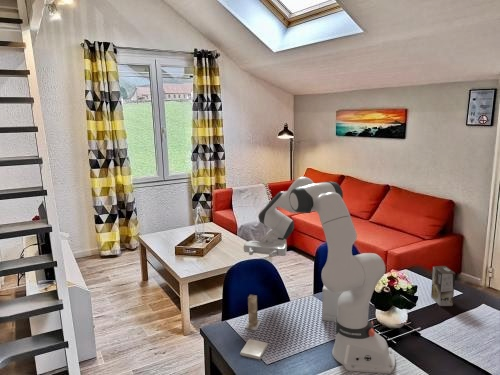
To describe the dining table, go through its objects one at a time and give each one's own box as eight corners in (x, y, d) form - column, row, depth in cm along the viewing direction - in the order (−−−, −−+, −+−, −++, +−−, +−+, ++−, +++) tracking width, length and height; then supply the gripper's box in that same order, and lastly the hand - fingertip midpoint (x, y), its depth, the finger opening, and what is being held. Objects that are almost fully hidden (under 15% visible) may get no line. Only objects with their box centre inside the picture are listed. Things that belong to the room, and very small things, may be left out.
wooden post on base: (261, 322, 166) (260, 293, 164) (256, 330, 160) (255, 301, 157) (250, 320, 168) (249, 292, 165) (245, 328, 162) (244, 299, 159)
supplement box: (342, 323, 163) (343, 291, 160) (321, 320, 166) (322, 289, 163) (344, 312, 172) (345, 282, 169) (324, 310, 175) (324, 280, 172)
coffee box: (453, 306, 175) (456, 273, 171) (439, 306, 175) (441, 273, 171) (443, 296, 184) (446, 265, 180) (430, 296, 184) (432, 265, 180)
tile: (267, 342, 150) (259, 356, 141) (267, 346, 150) (260, 360, 142) (249, 338, 153) (240, 352, 144) (249, 342, 153) (240, 355, 145)
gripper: (248, 235, 185) (238, 245, 172) (289, 239, 178) (281, 250, 165) (249, 248, 186) (238, 258, 174) (289, 252, 179) (282, 263, 167)
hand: (260, 254), depth 169 cm, fingers open, 8 cm apart
